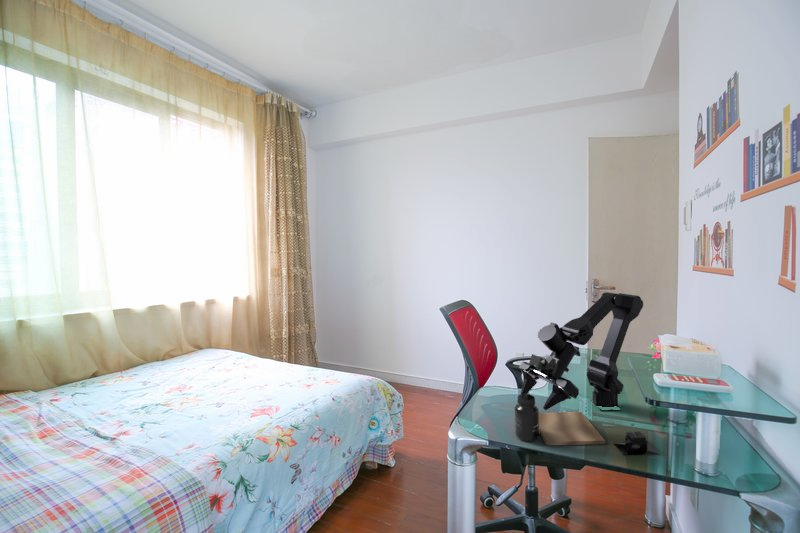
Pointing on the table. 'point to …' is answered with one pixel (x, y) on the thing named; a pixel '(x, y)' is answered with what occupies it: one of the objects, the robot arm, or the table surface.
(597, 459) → the table surface
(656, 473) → the table surface
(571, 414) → the board
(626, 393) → the table surface
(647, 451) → the black block on base
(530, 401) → the supplement bottle
